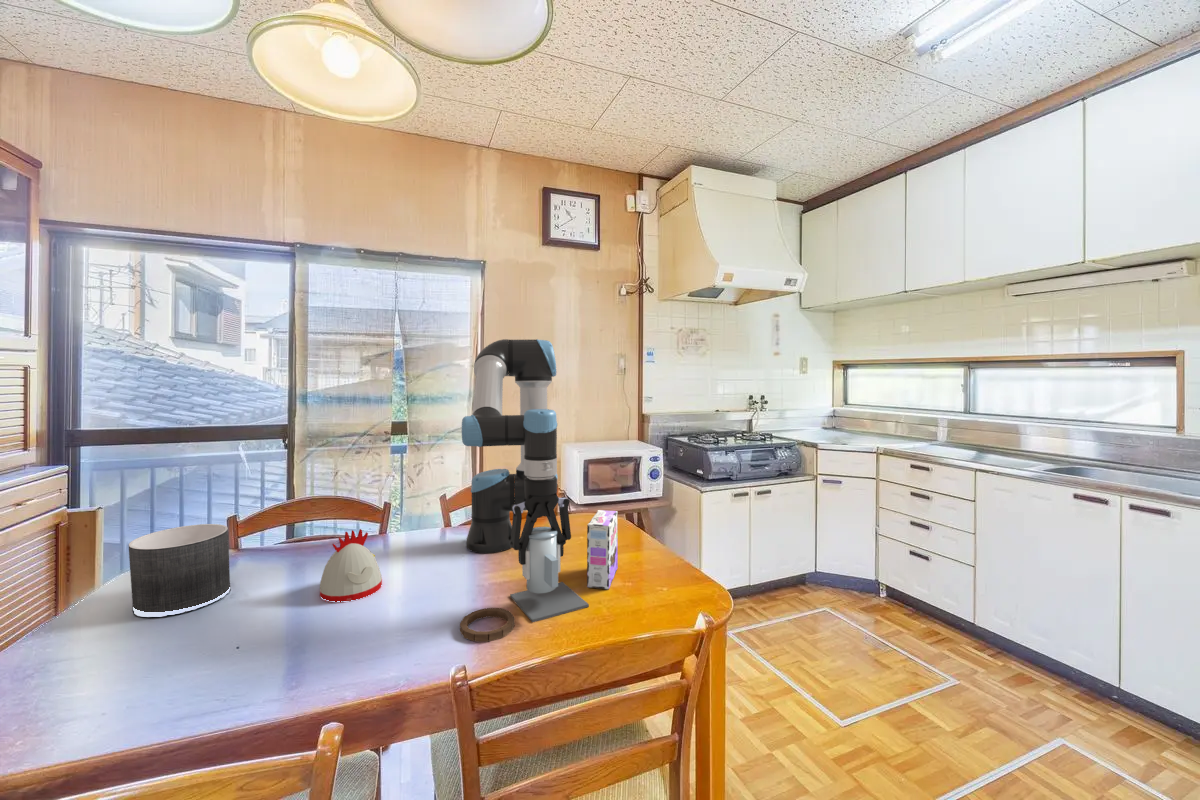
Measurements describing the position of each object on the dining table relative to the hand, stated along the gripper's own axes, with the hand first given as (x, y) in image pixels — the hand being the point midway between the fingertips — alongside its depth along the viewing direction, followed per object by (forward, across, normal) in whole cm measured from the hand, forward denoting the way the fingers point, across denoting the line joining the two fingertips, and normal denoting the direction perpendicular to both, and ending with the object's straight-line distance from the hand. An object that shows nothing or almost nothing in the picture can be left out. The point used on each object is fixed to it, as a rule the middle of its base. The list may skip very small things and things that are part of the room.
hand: (541, 573), depth 113 cm
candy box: (+8, +20, +6) cm, 22 cm away
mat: (+7, +2, 0) cm, 8 cm away
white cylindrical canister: (+3, 0, -2) cm, 4 cm away
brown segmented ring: (+7, -14, -4) cm, 16 cm away
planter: (+8, -73, +45) cm, 86 cm away
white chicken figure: (+8, -38, +31) cm, 50 cm away
